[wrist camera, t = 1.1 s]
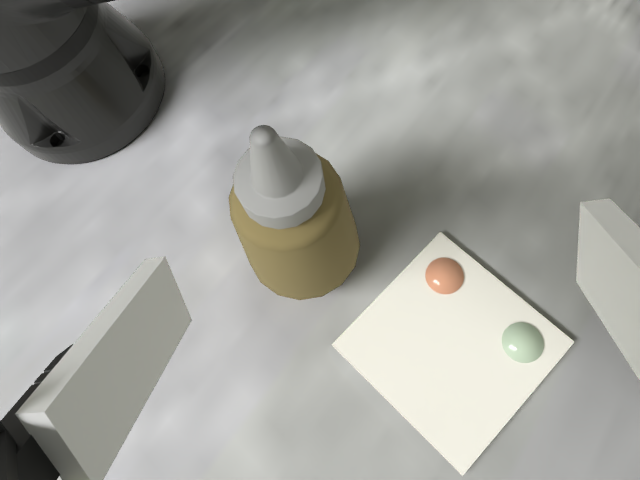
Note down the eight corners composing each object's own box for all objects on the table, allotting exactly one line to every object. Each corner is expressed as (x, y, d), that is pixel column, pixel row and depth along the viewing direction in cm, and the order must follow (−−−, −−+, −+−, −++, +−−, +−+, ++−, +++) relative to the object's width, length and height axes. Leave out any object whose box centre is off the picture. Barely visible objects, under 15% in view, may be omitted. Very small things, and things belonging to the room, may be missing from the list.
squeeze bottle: (376, 234, 37) (386, 92, 20) (334, 327, 35) (305, 254, 18) (286, 198, 39) (227, 39, 22) (240, 284, 37) (136, 182, 20)
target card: (332, 345, 35) (331, 344, 34) (439, 234, 37) (440, 231, 36) (460, 474, 31) (463, 475, 30) (571, 343, 33) (575, 341, 33)
